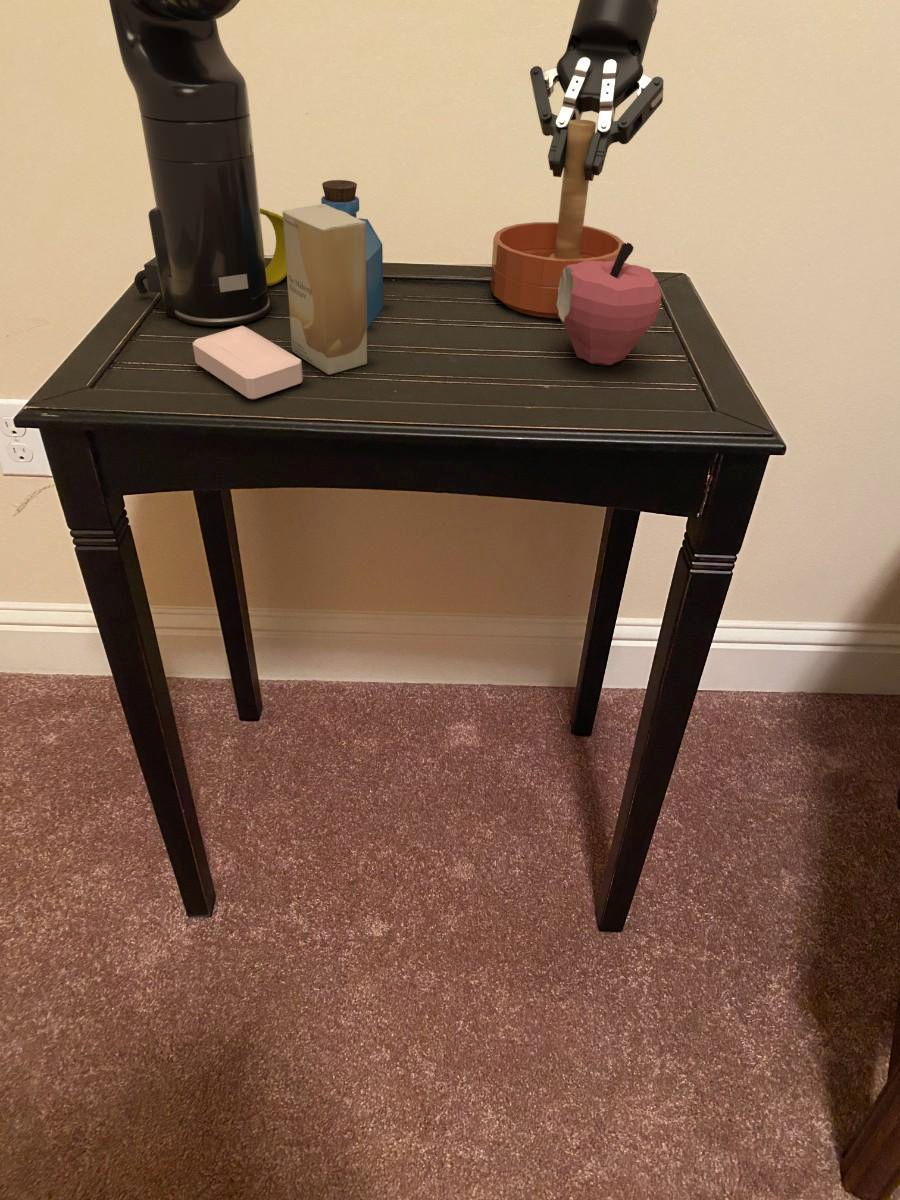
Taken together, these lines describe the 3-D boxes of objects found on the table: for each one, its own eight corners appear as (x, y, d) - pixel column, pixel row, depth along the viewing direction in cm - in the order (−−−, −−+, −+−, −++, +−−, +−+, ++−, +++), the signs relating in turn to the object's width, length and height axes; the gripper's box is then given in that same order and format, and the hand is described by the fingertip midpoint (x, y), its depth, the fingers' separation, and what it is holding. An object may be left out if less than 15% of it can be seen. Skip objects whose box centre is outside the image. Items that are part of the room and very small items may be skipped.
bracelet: (269, 286, 94) (287, 293, 92) (207, 268, 88) (225, 276, 86) (285, 218, 92) (304, 224, 90) (223, 194, 86) (242, 200, 84)
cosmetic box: (290, 353, 77) (277, 208, 69) (330, 342, 79) (322, 201, 72) (330, 377, 73) (321, 227, 66) (371, 365, 75) (367, 219, 68)
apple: (548, 338, 82) (560, 228, 76) (638, 341, 82) (657, 232, 76) (556, 380, 74) (570, 262, 68) (655, 384, 74) (678, 266, 68)
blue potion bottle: (366, 329, 82) (362, 195, 74) (305, 322, 83) (295, 189, 75) (383, 307, 87) (381, 179, 79) (325, 301, 88) (317, 173, 80)
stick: (546, 275, 89) (562, 124, 80) (549, 265, 91) (564, 117, 83) (581, 278, 88) (600, 126, 80) (583, 268, 91) (601, 119, 82)
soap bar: (251, 404, 69) (247, 376, 67) (193, 364, 74) (189, 338, 72) (306, 384, 72) (304, 357, 70) (247, 348, 77) (243, 322, 75)
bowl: (482, 315, 86) (486, 253, 82) (498, 274, 96) (502, 217, 92) (614, 327, 85) (624, 265, 81) (615, 284, 95) (624, 227, 91)
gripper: (543, -25, 82) (496, 140, 80) (690, -17, 78) (644, 156, 77) (550, 36, 89) (508, 189, 87) (685, 46, 85) (644, 205, 84)
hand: (572, 173), depth 82 cm, fingers closed on stick, 2 cm apart
